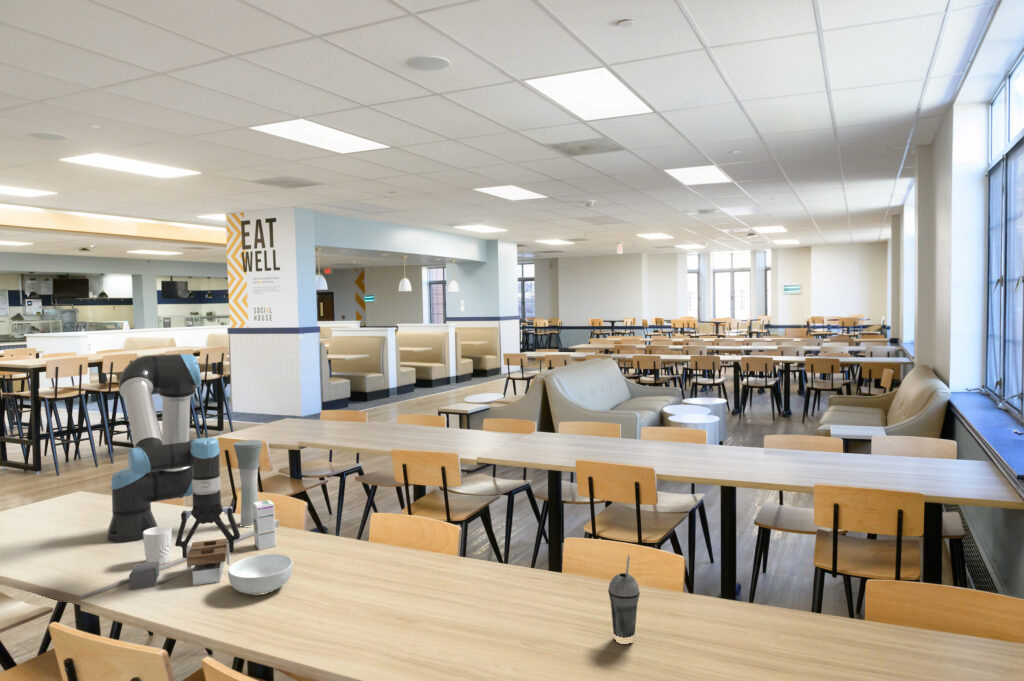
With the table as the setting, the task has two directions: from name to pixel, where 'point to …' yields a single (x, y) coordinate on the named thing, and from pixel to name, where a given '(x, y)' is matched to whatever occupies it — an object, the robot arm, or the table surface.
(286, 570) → the cereal bowl
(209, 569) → the chassis
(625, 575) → the beverage cup
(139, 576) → the riser
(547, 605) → the table surface
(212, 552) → the board
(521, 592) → the table surface
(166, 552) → the white cup
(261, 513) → the syrup box
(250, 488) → the container
